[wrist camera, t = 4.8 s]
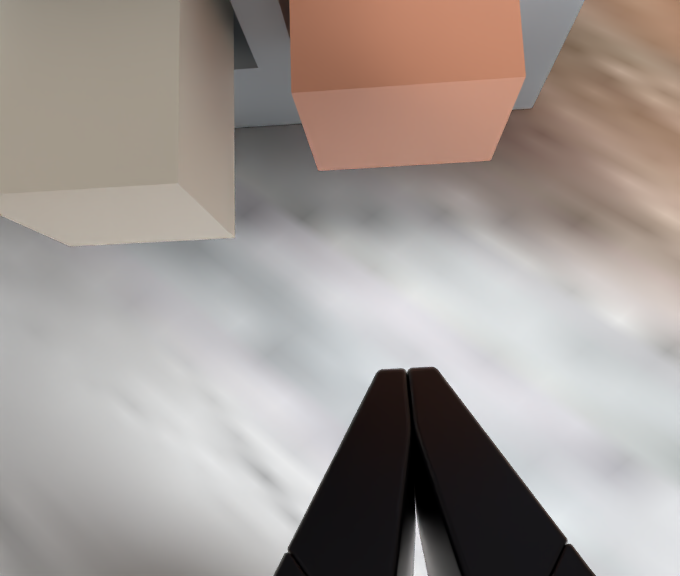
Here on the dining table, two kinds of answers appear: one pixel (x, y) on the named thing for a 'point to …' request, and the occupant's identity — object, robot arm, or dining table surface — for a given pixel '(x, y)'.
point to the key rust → (404, 79)
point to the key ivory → (118, 119)
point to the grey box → (275, 60)
